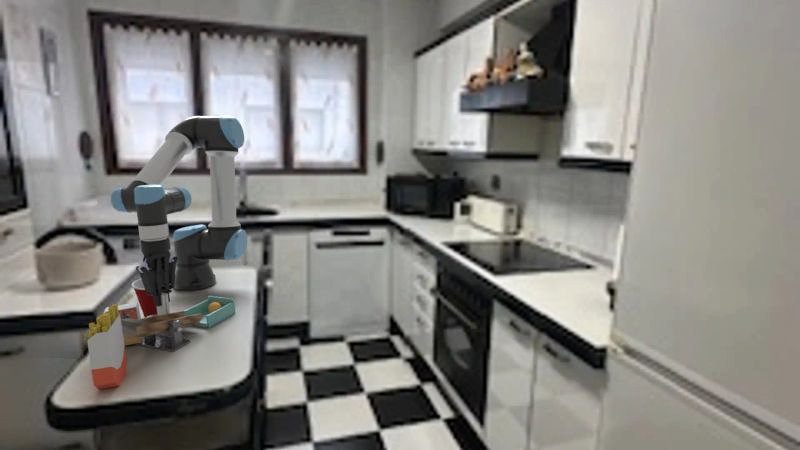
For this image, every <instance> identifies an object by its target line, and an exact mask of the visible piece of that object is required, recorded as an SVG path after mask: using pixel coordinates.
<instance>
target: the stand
mask: <svg viewBox="0 0 800 450" xmlns="http://www.w3.org/2000/svg"><path fill="white" fill-rule="evenodd" d="M148 317H153V316H147V317H144V318H148ZM169 327H170V330H169V334H170V335H169V336H168V335H162V334H158V333H157V334H152V335H148V336H144V337H143V342H141V343H136V346H139V347H146V348H150V349H154V350H155V349H156V350H161V351H167V352H172V353H174V352H176V351H178V350H180V349H181V348H184V346H186V345H188V344H190V343H191V340H190V339H185V338H183V336H182V335H183V334H182V330H183V327H182V328H181V325H180V320H175V321H173V322H171V323H169Z"/></svg>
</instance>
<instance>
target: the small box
mask: <svg viewBox="0 0 800 450" xmlns="http://www.w3.org/2000/svg"><path fill="white" fill-rule="evenodd" d="M109 307H110V306H108V307H105V309H104V311H103V313H102V314H104V313H105V312H107V311H109V309H108V308H109ZM140 310H141V309H140V304H139V301H133V302H130V303H125V304H118V314H119V313H120V318H121V319H126V318H129V319H135V320H137V319H142V317H141V311H140ZM123 338H124V345H125V346H130V345H134V344H136V345H137V343H141V342H143V340H144V337H140V338H136V339H134V338H129V337H123Z"/></svg>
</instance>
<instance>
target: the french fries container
mask: <svg viewBox="0 0 800 450" xmlns="http://www.w3.org/2000/svg"><path fill="white" fill-rule="evenodd" d="M118 306H119V304H118V303H113V304H111V306H108V307H109V308H108V309H109V311H107V312H105V313H104V312H103V313H104V314H103V313H102V314H101V315H98V316H97V317H96V319H95V320H96V323H95V322H90V323H88V328H89V332H88V333H87V337H88V340H87V347H88V355H89V362H90V369H91V372H90V373H91V377H92V383H93V386H94V387H95V389H98V390H103V389H109V388H115V387H120V385H121V384H122V382H123V380H124V378H125V376H126V371H127V352H126V345H124V338H123V331H122V324H121V318H120V313H119V314H118Z"/></svg>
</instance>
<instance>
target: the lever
mask: <svg viewBox="0 0 800 450" xmlns="http://www.w3.org/2000/svg"><path fill="white" fill-rule="evenodd" d="M184 311H185V310H180V311H175V312H170V313H168V314H163V315H158V314H156V315H150V316H153V317H148V318H145V317H143V318H142V317H141V319H137V320H135V319H129V318H126V319H121V324H122V331H123V337H129V338H134V339H136V338H140V337H143V338H144V336H148V335H152V334H157V335H158V334H161V333H164V332H170V327H169V323H171V322H173V321H175V320H180V325H181V328H182V329H183V328H185V327H190V326H191V325H194V324H199V323H200V320H202V313H199V314H195V315H190V316H185V317H184Z"/></svg>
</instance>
